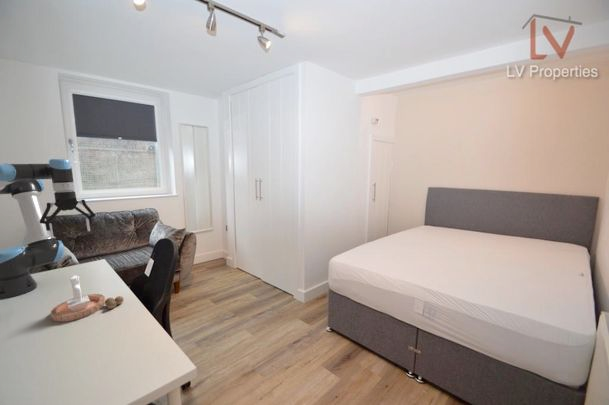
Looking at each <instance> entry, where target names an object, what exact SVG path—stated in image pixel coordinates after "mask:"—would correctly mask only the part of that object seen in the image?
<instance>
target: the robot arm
mask: <svg viewBox="0 0 609 405" xmlns="http://www.w3.org/2000/svg"><path fill="white" fill-rule="evenodd" d="M72 167H73V166H72V163H71V160H70V159H67V158H52V159H51V158H50V159H49V160H48V163H0V195H11V198H13V199H15V200H16V201H17V203H18V207H19V211H20V214H21V216H22V219H23V222H24V225H25V228H26V231H27V232H26V233H27V235H28V238H29V241H28V242H27V243H26V244H27V247H26V246H25V245H16V246H15V245H14V246H10V247H6V248H3V249H0V300H2V299H9V298H14V297H18V296H21V295H24V294H27V293H29V292H31V291H33V290H35V289H37V287H38V284H37V281H36V280H35V279H34V277H33V276H32V274H31V273H30V269H33V268H36V267H41V266H44V265H48V264H53V263H55V262H59V261H61V260H62V259H63V257H64V255H65V247H64V246H65V245H64V243H63V241H62V240H57V238H56V236H54V231H53V224H52V223H51V222H52V221H53V220H54V219H55V217H56V216H57V215H59V213H60V212H61V211H63V212H66V211H74V210H76V212H77V211H78V212H79V213H80V214H82V215H83V216H84V217H86V218H85V222H86V229H87V232H91V225H92V224H93V221H92V220H93V219H92V218H94V217H96V214H95V213H94V211H92V209H91V208H90V207H89V206H88V204H87V202H86V200H85V199H81V200H77V196H76V191H75V190H76V189H75V183H74V175H73V168H72ZM43 180H51V182H52V188H53V192H54V194H53V195H54V202H46V208H45V210H44V209H43V206H42V202H41V199H40V196H41V195H42V192H43V191H44V190H45V184H44V181H43ZM78 204H80V205H82V206H83V208H84V209H85V210H86V212H85V211H84V210H82V209H81V208H79V207H78V206H77V205H78ZM53 206H55V207H56V209H55V210H54V212H52V214H50V216H49V217H48V215H49V212H50V210H51V208H53ZM87 212H88V213H89V214H88V213H87ZM47 217H48V218H47Z"/></svg>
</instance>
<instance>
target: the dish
mask: <svg viewBox="0 0 609 405" xmlns="http://www.w3.org/2000/svg"><path fill="white" fill-rule="evenodd" d="M86 295H88V297H89V300H90V301H89V303H88V306H87V308H85V309H82V310H79V311H76V312H73V311H72V310H71V309H70V308H69V307H68V304H67V301H69V300H73V299H74V297H73V298H70V299H67V300H66V301H63V302H62V303H59V304H57V305H56V306H55V307H53V308H52V310H50V316H51V317H50V318H51V319H52V320H53V321H54V322H58V323H65V322H72V321H76V320H79V319H83V318H86V317H88V316H91V315H92V314H95V313H96V312H98V311H100V310H101V309H103V307H104V306H106V305H105V301H106V297H105V295H103V294H100V293H92V294H85V295H82V297H83V296H86Z"/></svg>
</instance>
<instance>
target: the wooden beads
mask: <svg viewBox="0 0 609 405" xmlns="http://www.w3.org/2000/svg"><path fill="white" fill-rule="evenodd" d="M123 302H124V297H123V296H116V297H115V298H113V297H108V298H105V305H104V306H106V308H107V309H109V310H110V309H111V310H113V309H115V308H116V306H117V305H121V304H123Z"/></svg>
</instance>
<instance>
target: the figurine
mask: <svg viewBox="0 0 609 405" xmlns="http://www.w3.org/2000/svg"><path fill="white" fill-rule="evenodd" d="M69 280H70V283H71V289H72V296H73V298H74V299H73V298H72V299H73V300H70V299H68V300H69V301H68V300H66V301H67V304H68V307H69V308H70V309H71V310H72V311H73V312H76V311H79V310H82V309H85V308H87V306H88V303H89V301H90V300H89V297H88V295H89V294H85V295H86V296H84V295H82V289H81V283H80V280H81V279H80V276H79V275H72V276H71V277H70V278H69ZM82 296H83V297H82Z"/></svg>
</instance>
